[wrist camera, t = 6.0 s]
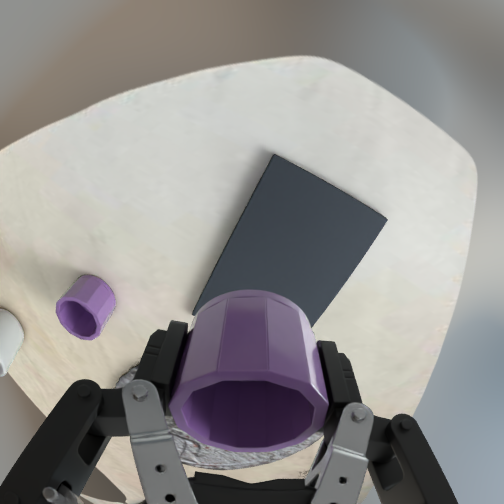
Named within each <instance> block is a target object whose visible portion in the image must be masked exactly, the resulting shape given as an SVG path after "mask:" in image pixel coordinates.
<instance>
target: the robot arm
mask: <svg viewBox="0 0 504 504" xmlns="http://www.w3.org/2000/svg"><path fill="white" fill-rule="evenodd" d="M187 333H188V323H185V322H179V321H174V320H171V322H170V324H169V327H168V330H167V331H165V330H160V329H158V330H157V331H156V332H154V333H153V334H152V335H151V336H150V338H149V341H148V343H147V346H146V348H145V351H144V353H143V356H142V358H141V361H140V363H139V366H138V368H137V371H136V373H135V376H134V378H133V380H132V381H130V382H128V383H127V384H126V385H125V386H124V387H122V388H117V389H101V388H100V386H99V385H98V384H97V383H96V382H94V381H92V380H88V379H82V380H78V381H76V382H74V383H73V384H72V385H71V386H70V387H69V388H68V390H67V391H66V392H65V394H64V395H63V396H62V398H61V399H60V400H59V402H58V403H57V404H56V406H55V407H54V409H53V410H52V411H51V413H50V414H49V415H48V417H47V418H46V419H45V421H44V422H43V424H42V425H41V426H40V428H39V429H38V431H37V432H36V434H35V435H34V436H33V438H32V439H31V441H30V442H29V444H28V445H27V446H26V448H25V449H24V451H23V452H22V454H21V455H20V457H19V458H18V460H17V461H16V463H15V464H14V466H13V467H12V469H11V470H10V472H9V473H8V475H7V476H6V478H5V480H4V481H3V483H2V485H1V486H0V504H84V503H83V501H82V500H81V499H80V498H79V495H80V494H81V492H82V490H83V488H84V486H85V484H86V482H87V480H88V478H89V477H90V475H91V473H92V471H93V469H94V468H95V466H96V464H97V462H98V461H99V459H100V457H101V455H102V453H103V452H104V450H105V448H106V446H107V444H108V443H109V441H110V439H111V437H114V436H130V443H131V447H132V452H133V456H134V460H135V464H136V468H137V471H138V475H139V479H140V482H141V486H142V489H143V493H144V496H145V500H144V501H142V502H141V503H139V504H356V503H357V500H358V497H359V494H360V490H361V487H362V484H363V480H364V477H365V473H366V470H367V468H368V471H369V473H370V476H371V478H372V481H373V483H374V486H375V489H376V491H377V493H378V496H379V499H380V501H381V504H458V502H457V500H456V498H455V496H454V493H453V491H452V489H451V487H450V485H449V483H448V481H447V479H446V477H445V475H444V473H443V471H442V469H441V467H440V465H439V464H438V461H437V459H436V458H435V455H434V454H433V452H432V450H431V448H430V446H429V444H428V442H427V440H426V438H425V436H424V435H423V433H422V431H421V429H420V427H419V425H418V424H417V422H416V420H415V419H414V418H413V417H411V416H409V415H407V414H398V415H396V416H394V417H393V418H392V420H390V419H386V418H381V417H377V416H375V415H373V412H372V411H371V409H370V408H369V407H367V406H366V405H364V404H363V403H362V400H361V396H360V393H359V389H358V386H357V383H356V379H355V376H354V372H353V369H352V366H351V363H350V360H349V359H348V358H347V357H346V356H345V354H344V353H338V351H337V347H336V344H335V342H332V341H320V340H319V341H318V342H317V343H316V344H317V348H318V353H319V358H320V362H321V367H322V372H323V377H324V382H325V387H326V392H327V397H328V402H329V406H328V410H327V415H326V419H325V423H324V425H323V427H322V428H321V429H319V430H318V431H317V432H323V433H324V439H323V440H322V442H321V444H320V447H319V449H318V452H317V454H316V456H315V459H314V461H313V464H312V466H311V468H310V470H309V473H308V475H307V476H306V478H305V479H275V480H270V481H265V482H259V483H252V484H251V483H246V482H243V481H239V480H236V479H233V478H230V477H227V476H224V475H217V474H210V473H202V472H196V471H195V475H194V477H189V478H187V475H186V473H185V470H184V467H183V465H182V462H181V459H180V456H179V453H178V451H177V448H176V445H175V442H174V439H173V436H172V434H171V433H170V431H169V429H168V425H167V422H166V419H165V416H167V417H171V416H172V414H171V412H170V410H169V407H168V402H169V399H170V396H171V392H172V388H173V384H174V381H175V377H176V373H177V369H178V366H179V362H180V358H181V355H182V351H183V347H184V344H185V340H186V336H187Z"/></svg>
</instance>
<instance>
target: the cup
mask: <svg viewBox="0 0 504 504" xmlns="http://www.w3.org/2000/svg"><path fill="white" fill-rule="evenodd" d="M23 340H24V332H23V329H22V326H21V325H20V323H19V321H18V320H17V319H16V318H15V317H14V315H12V314H11V313H10V312H9V311H7V310H5V309H0V376H4V375H5V374H6V373H7V371H8V369H9V367H10V365H11V363H12V361H13V360H14V358H15V356H16V354H17V352H18V351H19V349H20V347H21V345H22V343H23Z"/></svg>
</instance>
